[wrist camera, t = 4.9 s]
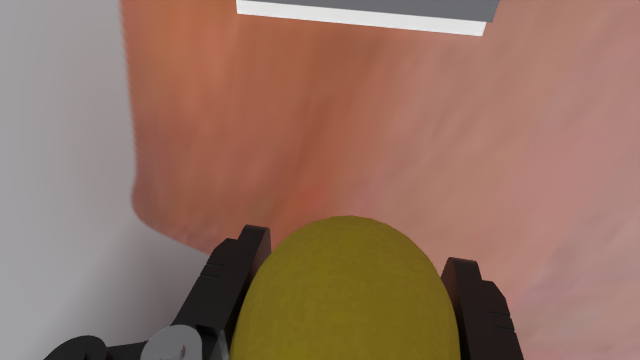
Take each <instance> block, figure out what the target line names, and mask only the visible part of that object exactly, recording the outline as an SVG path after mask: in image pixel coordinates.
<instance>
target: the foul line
mask: <svg viewBox="0 0 640 360" xmlns="http://www.w3.org/2000/svg"><path fill="white" fill-rule="evenodd" d="M236 3H237V13H239V14H249V15H260V16H271V17H282V18H293V19H303V20H314V21H325V22H336V23H347V24H357V25H368V26H379V27H390V28H401V29H411V30H422V31H433V32H444V33H455V34H465V35H476V36H482V35H483V31H484V28H485V25H486V22H480V21H469V20H458V19H447V18H436V17H424V16H413V15H402V14H391V13H379V12H368V11H357V10H346V9H335V8H323V7H312V6H301V5H290V4H279V3H267V2H256V1H245V0H236Z"/></svg>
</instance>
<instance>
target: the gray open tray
mask: <svg viewBox="0 0 640 360" xmlns="http://www.w3.org/2000/svg"><path fill="white" fill-rule="evenodd" d="M245 1H256V2H267V3H279V4H290V5H301V6H312V7H323V8H335V9H346V10H357V11H368V12H379V13H391V14H402V15H413V16H424V17H436V18H447V19H458V20H469V21H480V22H492V21H493V18H494V15H495V12H496V9H497V6H498V3H499V0H245Z"/></svg>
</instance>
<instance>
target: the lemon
mask: <svg viewBox="0 0 640 360" xmlns="http://www.w3.org/2000/svg"><path fill="white" fill-rule="evenodd" d="M229 360H461V355H460V345H459V335H458V328H457V322H456V317H455V313H454V310H453V306H452V303H451V300H450V298H449V295H448V292H447V290H446V288H445V286H444V284H443V282H442V280H441V278H440V277H439V275H438V273H437V271H436V269H435V267H434V265H433V264H432V262H431V261H430V259H429V258H428V257H427V255H426V254H425V253H424V252H423V251H422V250H421V249H420V248H419V247H418V246H417V245H416V244H415V243H414V242H413V241H412V240H411V239H410V238H409V237H407V236H406V235H404V234H402V233H401V232H399V231H398V230H396V229H394V228H393V227H391V226H389V225H387V224H385V223H382V222H379V221H376V220H373V219H371V218H365V217H358V216H334V217H330V218H326V219H322V220H319V221H315V222H312V223H310V224H308V225H306V226H304V227H303V228H301V229H299V230H297V231H295V232H294V233H292V234H290V235H289V236H288V237H287V238H286V239H285V240H283V241H282V242H281V243H280V244H279V245H278V246H277V247H276V248H275V249H274V251H273V252H272V253H271V254H270V255H269V256H268V257H267V258H266V260H265V261H264V262H263V264H262V265H261V267H260V268H259V270H258V272H257V273H256V275H255V277H254V279H253V281H252V283H251V285H250V288H249V290H248V292H247V295H246V297H245V299H244V302H243V304H242V307H241V309H240V312H239V315H238V318H237V321H236V325H235V329H234V332H233V337H232V342H231V347H230V353H229Z"/></svg>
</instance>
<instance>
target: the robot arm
mask: <svg viewBox="0 0 640 360" xmlns="http://www.w3.org/2000/svg"><path fill="white" fill-rule="evenodd" d="M270 254H271V240H270V229H269V228H266V227H260V226H253V225H245V226H244V228H243V230H242V232H241V234H240V236H239V238H238V240H236V239H230V238H227V239H225V240H224V241H223V242H222V243H221V244H220V245H218V246H217V247H216V248H215V249H214V250H213V252H212V254H211V256H210V257H209V259H208V261H207V264H206V265H205V266H204V268H203V270H202V272H201V274H200V277H198V279H197V281H196V282H195V285H194V286H193V288H192V290H191V291H190V293H189V295H188V297H187V299H186V300H185V302H184V304H183V306H182V307H181V309H180V311H179V313H178V315H177V316H176V318H175V320H174V321H173V323H172V324H171V325H170V326H169V327H167V328H164V329H162V330H161V331H159V332H158V333H156V334H155V335H154V336H153V337H152V338H151V339H150V340H148V341H144V342H140V343H134V344H127V345H120V346H112V347H106V346H105V344H104V342H103V341H102V340H101V339H100V338H98V337H95V336H89V335H88V336H80V337H76V338H73V339H70V340H68V341H66V342H64V343H63V344H61V345H60V346H58V347H57V348H55V349H54V350H53V351H52V352H51V353H50V354H49V355H48V356H47V357H46V358H45V359H44V360H229V353H230V347H231V342H232V337H233V332H234V329H235V325H236V321H237V318H238V315H239V312H240V309H241V307H242V304H243V302H244V299H245V297H246V295H247V292H248V290H249V288H250V285H251V283H252V281H253V279H254V277H255V275H256V273H257V272H258V270H259V268H260V267H261V265H262V264H263V262H264V261H265V260H266V258H267V257H268V256H269V255H270ZM441 280H442V282H443V284H444V286H445V288H446V290H447V292H448V295H449V298H450V300H451V303H452V306H453V310H454V313H455V317H456V322H457V328H458V335H459V345H460V355H461V360H524V358H523V355H522V352H521V348H520V345H519V342H518V339H517V335H516V333H515V332H514V330H515V329H514V326H513V322H512V319H511V318H510V312H509V309H508V306H507V303H506V299H505V297H504V296H503V294H502V293H501V292H500V290H499V289H498V288H497V286H496V285H495V284H494V282H491V281H485V280H482V278H481V274H480V270H479V266H478V264H477V262H476V261H473V260H466V259H460V258H454V257H449V258H448V260H447V262H446V265H445V267H444V270H443V273H442V275H441Z"/></svg>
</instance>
